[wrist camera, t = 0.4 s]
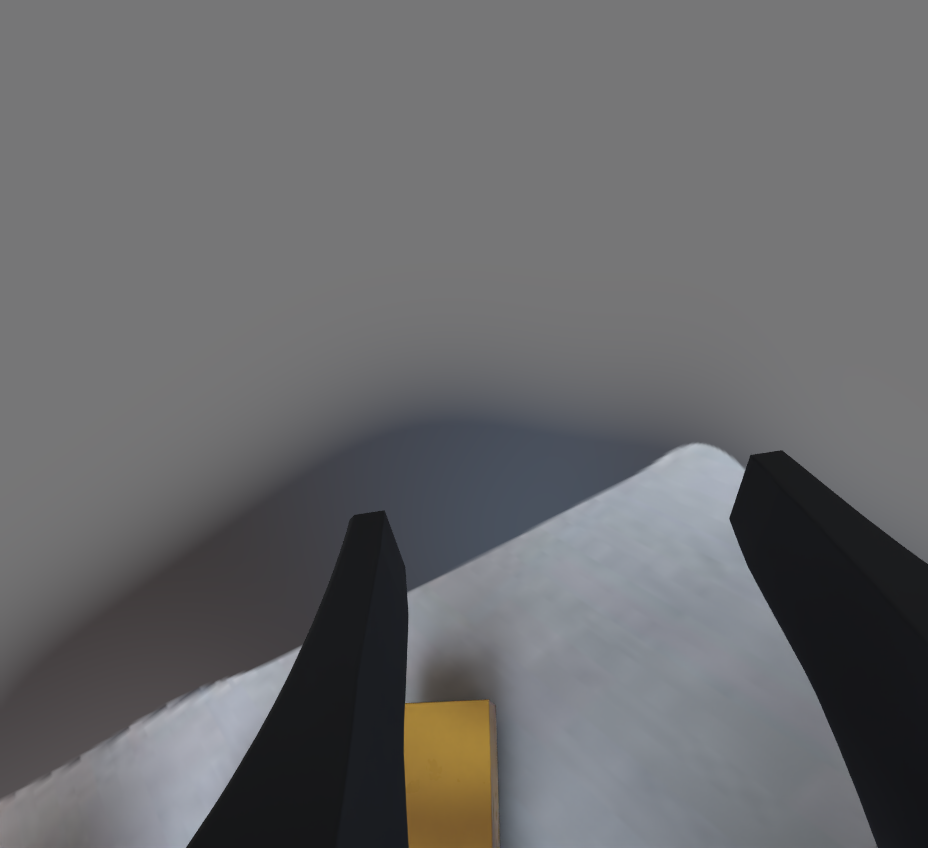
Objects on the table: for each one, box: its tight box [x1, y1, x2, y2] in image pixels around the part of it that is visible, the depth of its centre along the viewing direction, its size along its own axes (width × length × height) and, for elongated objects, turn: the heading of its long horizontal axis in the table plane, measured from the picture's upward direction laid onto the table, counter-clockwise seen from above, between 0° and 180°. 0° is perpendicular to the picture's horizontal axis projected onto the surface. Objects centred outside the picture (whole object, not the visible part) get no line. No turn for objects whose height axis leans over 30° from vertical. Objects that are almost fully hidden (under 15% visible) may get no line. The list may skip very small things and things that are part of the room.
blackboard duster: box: [404, 699, 500, 848], centre depth 25 cm, size 11×5×3 cm, turn 179°
